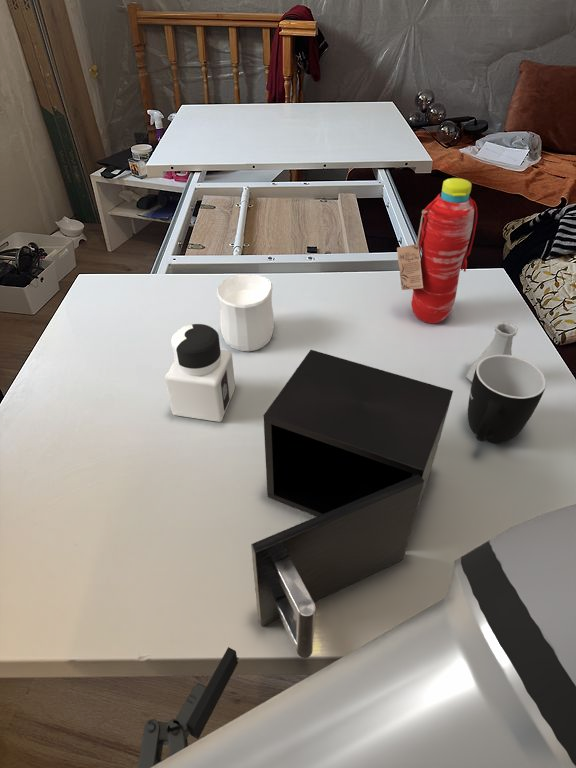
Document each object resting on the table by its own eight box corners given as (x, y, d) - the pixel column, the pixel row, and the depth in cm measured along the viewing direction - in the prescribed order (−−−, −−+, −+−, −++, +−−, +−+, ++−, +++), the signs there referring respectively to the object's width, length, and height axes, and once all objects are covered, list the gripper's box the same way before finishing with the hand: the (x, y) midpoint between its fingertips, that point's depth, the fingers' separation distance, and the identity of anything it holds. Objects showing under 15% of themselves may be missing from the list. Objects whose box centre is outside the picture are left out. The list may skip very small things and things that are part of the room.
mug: (473, 397, 82) (490, 346, 75) (532, 422, 78) (555, 370, 71) (441, 445, 75) (456, 393, 68) (504, 475, 71) (526, 422, 64)
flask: (457, 378, 86) (471, 327, 79) (482, 358, 89) (497, 308, 83) (497, 400, 82) (516, 349, 75) (522, 379, 85) (541, 328, 79)
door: (434, 603, 58) (463, 527, 48) (284, 680, 52) (283, 612, 42) (398, 552, 62) (418, 473, 53) (257, 618, 57) (250, 543, 47)
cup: (265, 315, 99) (263, 268, 92) (283, 346, 92) (283, 298, 86) (215, 325, 97) (209, 278, 90) (230, 358, 90) (225, 310, 83)
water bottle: (392, 328, 96) (414, 191, 79) (386, 303, 102) (405, 171, 85) (459, 328, 96) (495, 191, 79) (449, 303, 102) (481, 171, 85)
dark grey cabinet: (402, 551, 63) (423, 470, 53) (267, 497, 69) (263, 415, 59) (430, 472, 71) (453, 390, 61) (308, 430, 77) (310, 349, 67)
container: (235, 388, 84) (229, 321, 75) (221, 423, 78) (212, 354, 70) (189, 382, 85) (177, 314, 76) (171, 415, 80) (157, 347, 71)
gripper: (12, 928, 37) (184, 644, 51) (349, 1214, 29) (443, 782, 43) (-32, 921, 32) (173, 608, 46) (361, 1265, 24) (463, 756, 38)
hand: (303, 691), depth 45 cm, fingers open, 13 cm apart
